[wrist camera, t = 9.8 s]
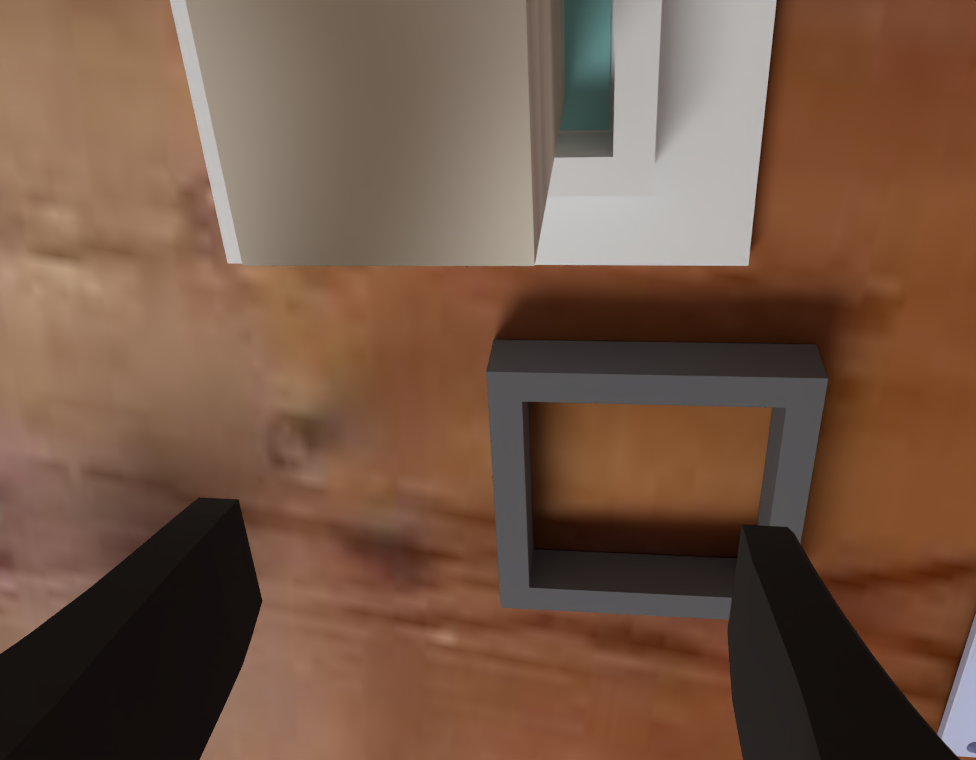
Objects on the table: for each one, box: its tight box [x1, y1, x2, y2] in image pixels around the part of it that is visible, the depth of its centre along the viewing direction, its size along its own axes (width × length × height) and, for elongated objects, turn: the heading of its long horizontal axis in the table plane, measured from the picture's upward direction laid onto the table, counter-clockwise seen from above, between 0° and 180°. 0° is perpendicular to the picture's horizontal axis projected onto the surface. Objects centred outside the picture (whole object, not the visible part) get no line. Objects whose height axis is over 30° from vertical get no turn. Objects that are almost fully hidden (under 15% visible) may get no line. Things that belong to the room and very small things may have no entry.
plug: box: [185, 0, 565, 266], centre depth 15 cm, size 4×4×8 cm
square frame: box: [486, 340, 828, 620], centre depth 24 cm, size 8×8×2 cm
